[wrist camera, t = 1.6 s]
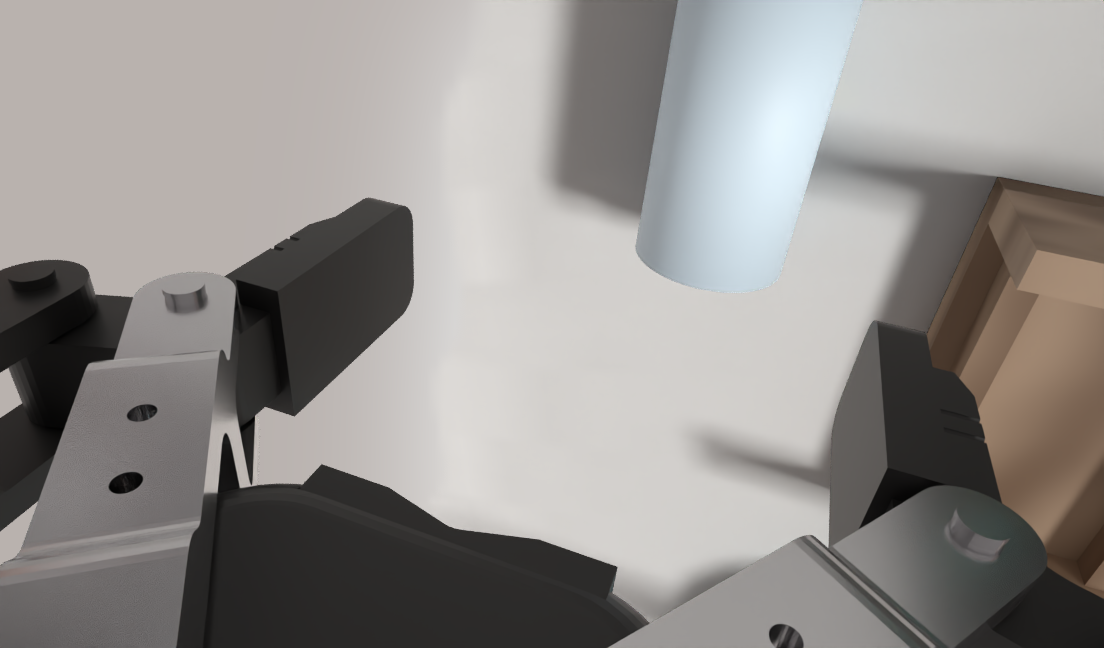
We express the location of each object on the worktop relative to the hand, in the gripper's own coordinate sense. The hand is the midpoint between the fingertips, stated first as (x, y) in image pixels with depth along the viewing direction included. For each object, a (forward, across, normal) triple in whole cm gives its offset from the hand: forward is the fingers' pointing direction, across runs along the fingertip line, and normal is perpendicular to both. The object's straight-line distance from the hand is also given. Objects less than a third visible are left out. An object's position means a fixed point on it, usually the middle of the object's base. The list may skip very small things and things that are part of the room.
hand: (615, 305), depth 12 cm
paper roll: (+13, 0, 0) cm, 13 cm away
